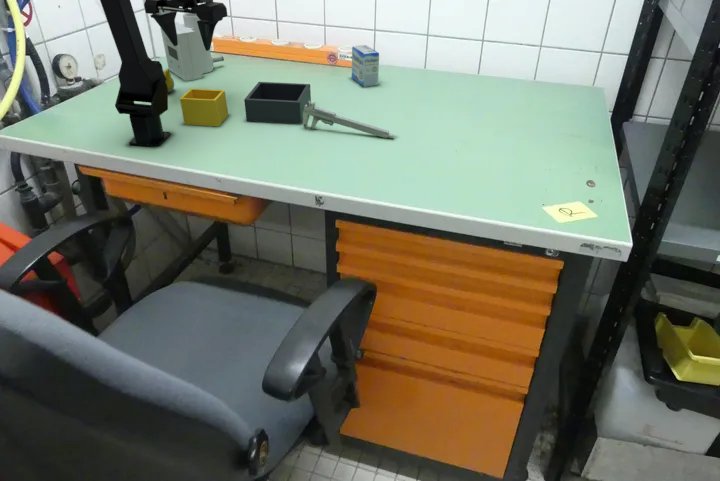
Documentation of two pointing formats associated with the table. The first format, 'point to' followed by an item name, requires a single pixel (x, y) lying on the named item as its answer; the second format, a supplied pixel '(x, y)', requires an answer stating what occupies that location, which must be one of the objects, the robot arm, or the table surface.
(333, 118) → the caliper
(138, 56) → the robot arm
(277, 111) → the big bin
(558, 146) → the table surface
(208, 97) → the small bin
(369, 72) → the medicine box
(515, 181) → the table surface
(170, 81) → the yellow ridged cone
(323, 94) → the table surface
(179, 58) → the grey machine part
